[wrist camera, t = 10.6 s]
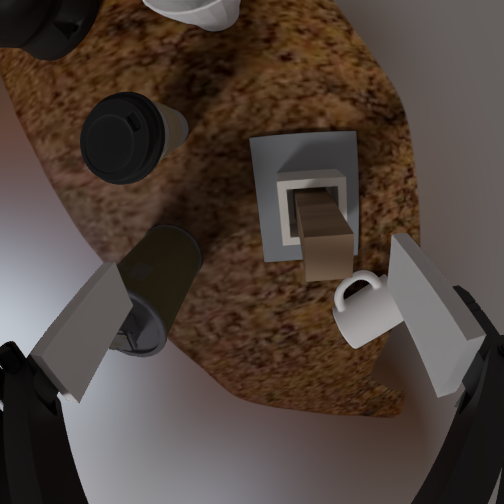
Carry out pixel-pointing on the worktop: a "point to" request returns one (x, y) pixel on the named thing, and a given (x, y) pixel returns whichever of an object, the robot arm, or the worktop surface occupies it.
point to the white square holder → (307, 179)
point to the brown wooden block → (323, 236)
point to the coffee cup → (129, 137)
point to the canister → (155, 288)
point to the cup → (199, 12)
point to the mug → (365, 309)
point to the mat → (300, 159)
